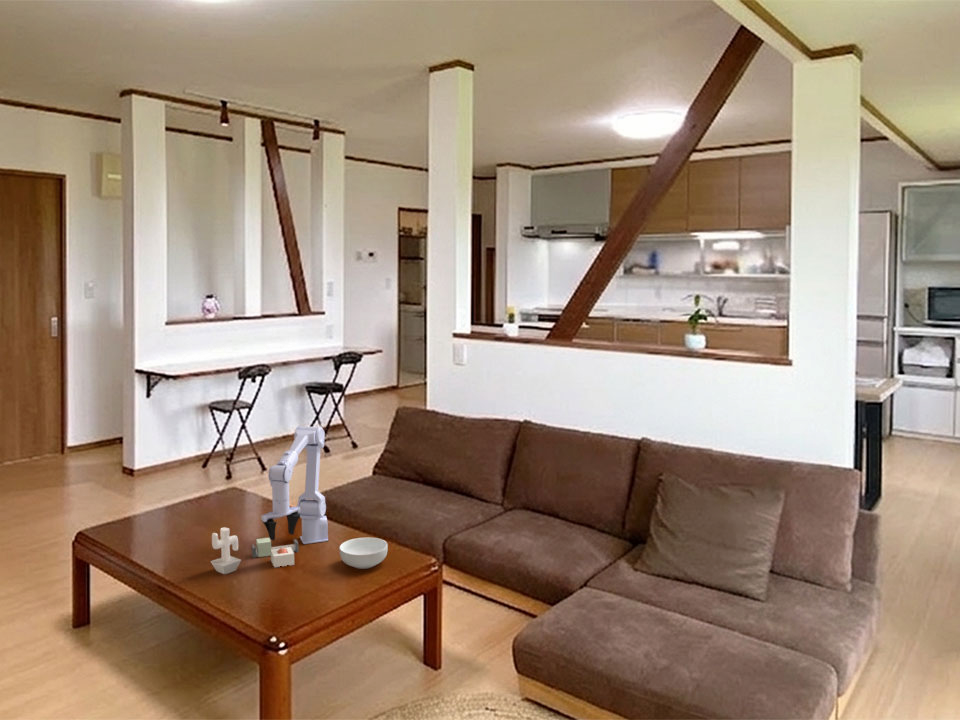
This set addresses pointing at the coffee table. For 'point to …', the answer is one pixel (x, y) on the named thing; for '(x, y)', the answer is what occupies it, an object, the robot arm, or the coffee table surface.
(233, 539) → the figurine
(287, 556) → the box
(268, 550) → the block
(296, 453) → the robot arm
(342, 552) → the cereal bowl
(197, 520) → the coffee table surface
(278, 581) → the coffee table surface
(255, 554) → the slide rail
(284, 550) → the plunger
